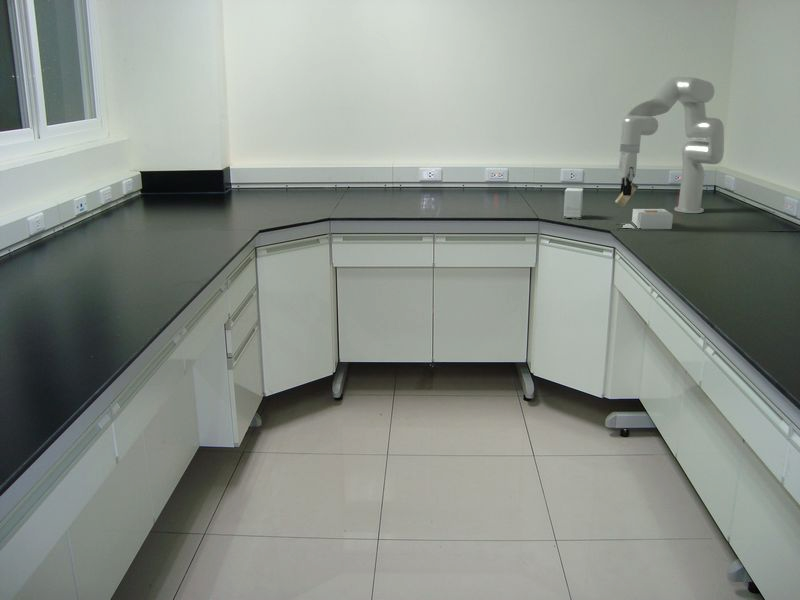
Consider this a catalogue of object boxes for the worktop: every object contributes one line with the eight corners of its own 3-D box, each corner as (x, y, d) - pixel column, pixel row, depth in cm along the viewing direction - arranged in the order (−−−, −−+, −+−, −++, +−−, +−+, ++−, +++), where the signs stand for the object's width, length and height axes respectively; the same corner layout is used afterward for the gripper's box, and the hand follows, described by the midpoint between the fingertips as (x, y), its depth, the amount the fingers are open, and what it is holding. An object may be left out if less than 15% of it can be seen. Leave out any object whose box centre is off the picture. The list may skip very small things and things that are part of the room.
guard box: (631, 222, 312) (633, 208, 310) (662, 222, 312) (664, 209, 310) (639, 228, 301) (640, 214, 299) (671, 229, 300) (673, 214, 298)
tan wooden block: (614, 201, 302) (629, 181, 299) (621, 205, 303) (636, 185, 300) (616, 202, 299) (631, 182, 296) (623, 207, 299) (638, 186, 297)
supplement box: (581, 216, 326) (584, 188, 322) (580, 219, 319) (582, 190, 315) (565, 215, 328) (566, 187, 324) (562, 218, 321) (564, 189, 317)
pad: (610, 225, 308) (610, 223, 308) (630, 225, 307) (630, 223, 307) (615, 229, 300) (615, 227, 300) (635, 229, 300) (635, 227, 300)
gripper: (615, 146, 302) (611, 191, 307) (625, 151, 286) (621, 197, 292) (633, 146, 302) (629, 191, 307) (645, 151, 286) (640, 198, 292)
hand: (625, 194), depth 299 cm, fingers closed on tan wooden block, 3 cm apart
